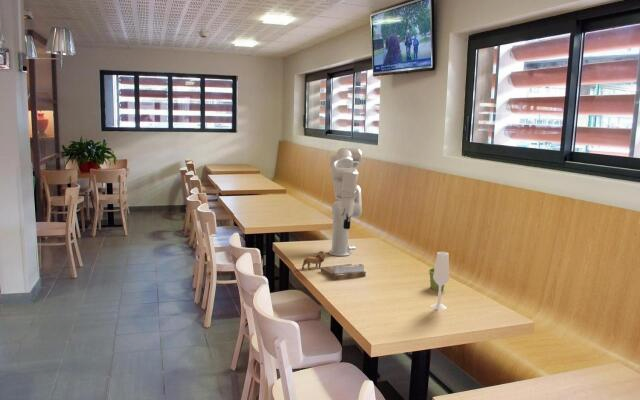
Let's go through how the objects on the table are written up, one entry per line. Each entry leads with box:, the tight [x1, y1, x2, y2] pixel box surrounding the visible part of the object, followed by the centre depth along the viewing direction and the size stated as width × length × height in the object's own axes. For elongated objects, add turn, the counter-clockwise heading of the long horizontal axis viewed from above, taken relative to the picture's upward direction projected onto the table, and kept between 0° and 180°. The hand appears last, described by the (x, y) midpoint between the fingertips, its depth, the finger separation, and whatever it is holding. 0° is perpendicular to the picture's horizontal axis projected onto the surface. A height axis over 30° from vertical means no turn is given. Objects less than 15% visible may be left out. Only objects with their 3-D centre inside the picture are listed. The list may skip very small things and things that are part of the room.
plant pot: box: [428, 267, 445, 291], centre depth 244 cm, size 9×9×9 cm
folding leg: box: [333, 263, 365, 274], centre depth 256 cm, size 16×2×3 cm, turn 112°
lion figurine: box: [301, 250, 326, 271], centre depth 268 cm, size 15×5×9 cm, turn 126°
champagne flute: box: [430, 251, 450, 311], centre depth 218 cm, size 7×7×24 cm
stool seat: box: [320, 263, 367, 281], centre depth 261 cm, size 18×15×2 cm
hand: (346, 228), depth 268 cm, fingers closed
